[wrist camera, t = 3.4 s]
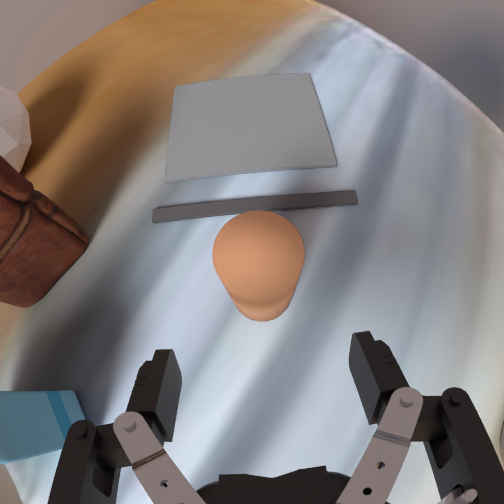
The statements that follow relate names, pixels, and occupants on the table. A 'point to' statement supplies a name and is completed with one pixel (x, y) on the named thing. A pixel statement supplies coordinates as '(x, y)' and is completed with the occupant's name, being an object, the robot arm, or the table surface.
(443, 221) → the table surface
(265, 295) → the throwing cylinder
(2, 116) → the geometric sphere
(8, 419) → the data package
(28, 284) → the wooden figurine
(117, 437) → the robot arm
